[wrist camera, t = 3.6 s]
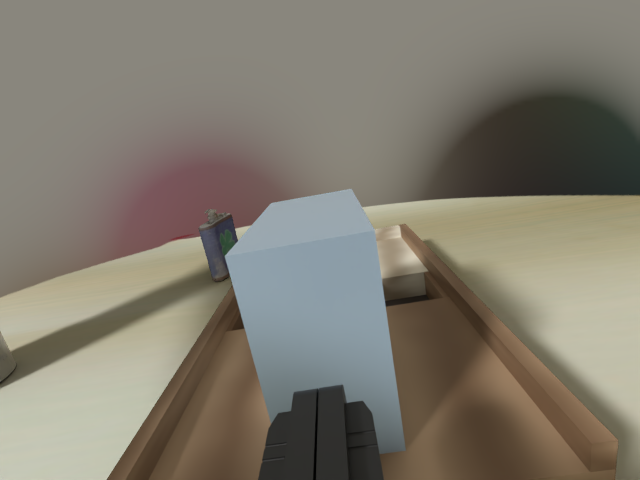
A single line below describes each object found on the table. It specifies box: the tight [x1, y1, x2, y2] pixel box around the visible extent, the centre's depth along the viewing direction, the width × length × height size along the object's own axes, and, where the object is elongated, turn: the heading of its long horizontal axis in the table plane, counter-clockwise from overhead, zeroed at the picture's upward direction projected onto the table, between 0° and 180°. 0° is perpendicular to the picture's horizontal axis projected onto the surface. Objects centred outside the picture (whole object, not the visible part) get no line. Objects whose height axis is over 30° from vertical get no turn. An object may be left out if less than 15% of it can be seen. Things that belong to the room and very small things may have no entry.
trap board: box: [107, 224, 618, 480], centre depth 32 cm, size 22×36×4 cm, turn 0°
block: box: [225, 189, 406, 454], centre depth 20 cm, size 6×12×11 cm, turn 0°
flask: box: [199, 209, 238, 282], centre depth 55 cm, size 9×3×11 cm, turn 173°
